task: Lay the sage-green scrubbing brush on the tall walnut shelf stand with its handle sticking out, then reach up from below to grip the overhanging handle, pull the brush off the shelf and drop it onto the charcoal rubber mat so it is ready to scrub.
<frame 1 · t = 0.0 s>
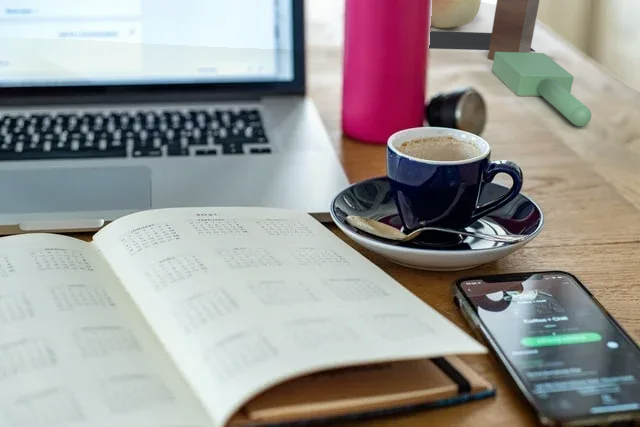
apple: (447, 28, 134), on the table
brush: (526, 98, 106), on the table
shelf stand: (510, 70, 116), on the table
mat: (470, 46, 125), on the table
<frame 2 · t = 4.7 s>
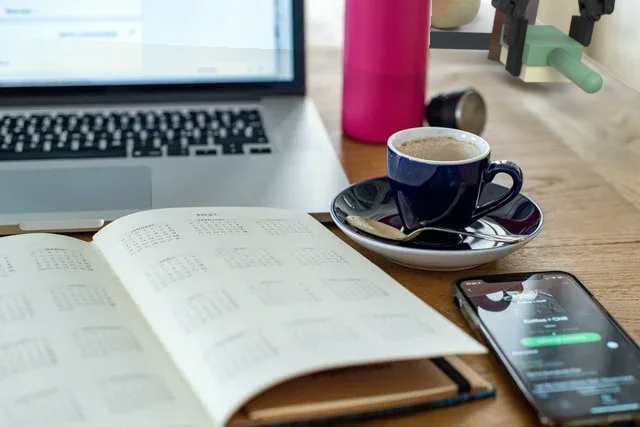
hand: (541, 72, 103), 4 cm above the table, tool pointing down, fingers closed on brush, 6 cm apart
brush: (535, 71, 104), point 4 cm above the table, touching gripper
everything else where it was.
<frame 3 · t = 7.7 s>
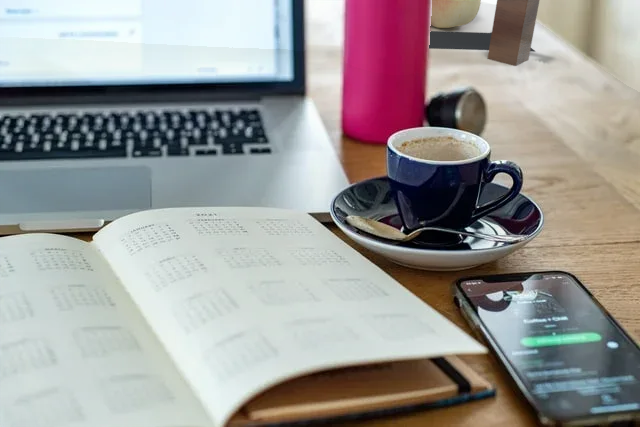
when the fingers open (30 cm above the table, at t = 11.1 s): brush stays where it is, resting on shelf stand.
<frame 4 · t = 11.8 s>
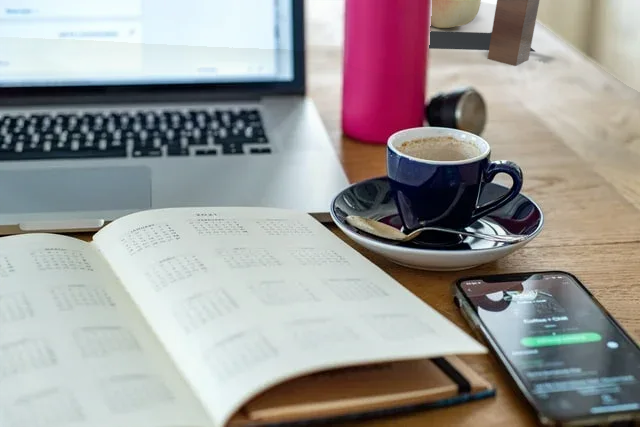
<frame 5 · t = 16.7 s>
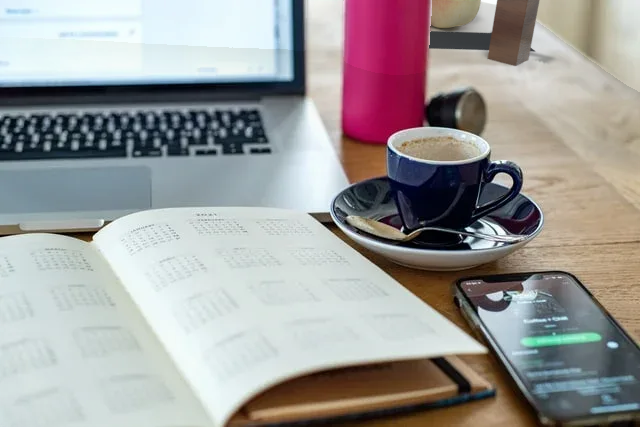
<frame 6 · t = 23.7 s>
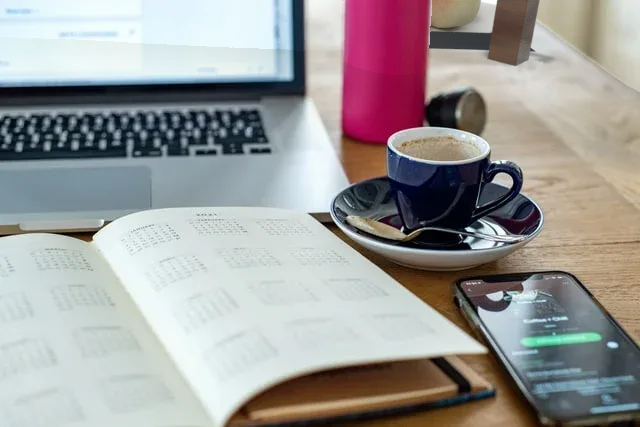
when the fingers open (22 cm above the table, at t = 32.6 s): brush drops 15 cm, resting on mat.
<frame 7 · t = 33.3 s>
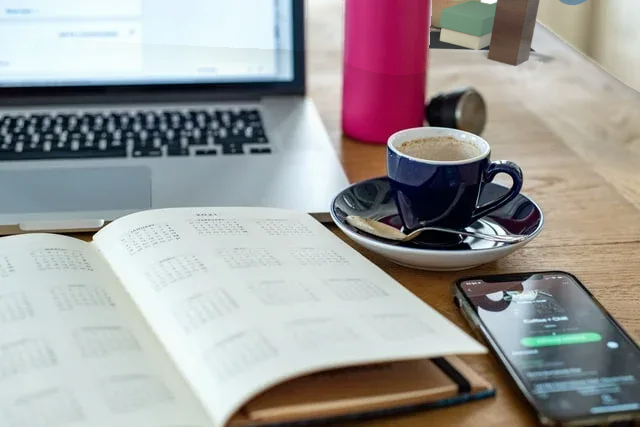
brush: (472, 40, 125), point 1 cm above the table, touching mat
everything else where it was.
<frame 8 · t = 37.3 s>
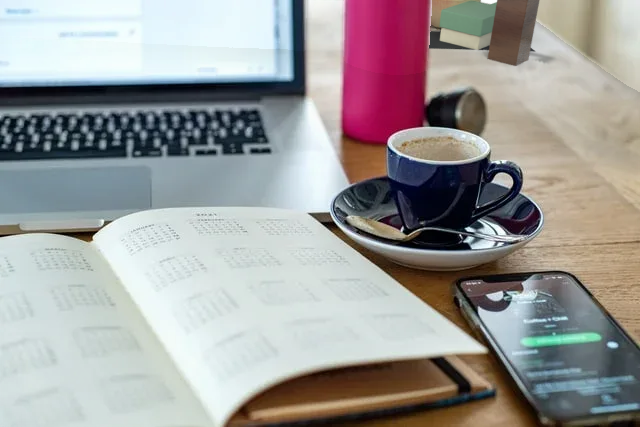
nothing on the table moved.
at the end: brush inside the target area on the mat (0.4 cm from its centre), point 0.8 cm above the mat's base; the gripper is holding nothing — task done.
